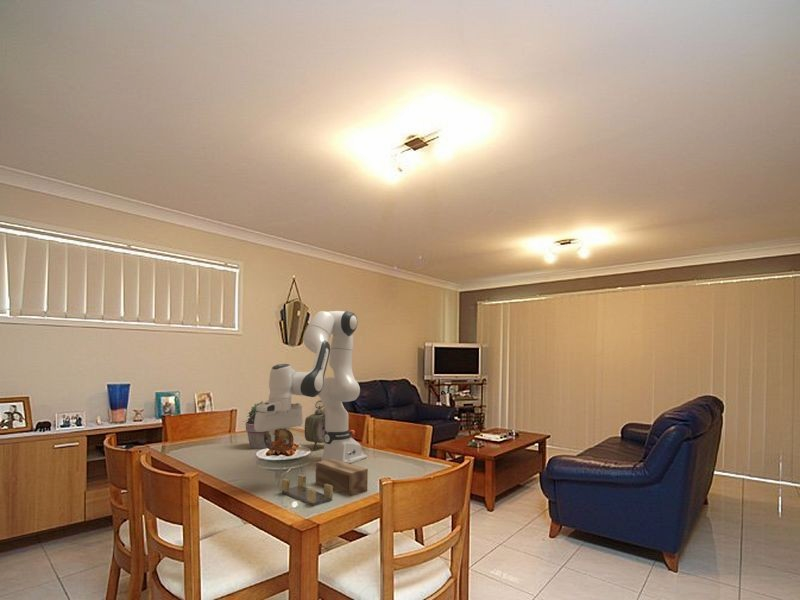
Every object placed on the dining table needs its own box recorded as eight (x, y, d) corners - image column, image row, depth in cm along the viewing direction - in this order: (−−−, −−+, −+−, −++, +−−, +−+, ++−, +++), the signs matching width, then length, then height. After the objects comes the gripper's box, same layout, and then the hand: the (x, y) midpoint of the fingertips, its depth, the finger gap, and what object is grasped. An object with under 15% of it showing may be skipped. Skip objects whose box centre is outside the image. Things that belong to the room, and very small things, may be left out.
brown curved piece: (263, 448, 182) (262, 427, 182) (270, 446, 184) (269, 425, 184) (289, 453, 173) (288, 431, 173) (295, 451, 176) (294, 429, 176)
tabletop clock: (315, 451, 233) (316, 402, 235) (302, 449, 237) (303, 401, 240) (333, 446, 245) (334, 399, 248) (320, 444, 250) (321, 398, 252)
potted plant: (232, 447, 240) (234, 400, 243) (264, 442, 255) (266, 397, 258) (251, 453, 229) (252, 403, 231) (283, 446, 243) (284, 399, 246)
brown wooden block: (331, 478, 185) (331, 458, 186) (367, 490, 170) (367, 468, 171) (314, 483, 179) (315, 462, 180) (350, 495, 164) (350, 473, 165)
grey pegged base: (300, 487, 173) (300, 474, 174) (332, 500, 160) (332, 485, 160) (281, 492, 167) (281, 479, 168) (312, 506, 153) (313, 491, 154)
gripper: (297, 402, 190) (296, 435, 188) (252, 406, 175) (251, 443, 173) (306, 403, 185) (305, 437, 184) (261, 408, 171) (259, 445, 169)
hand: (278, 440), depth 179 cm, fingers closed on brown curved piece, 3 cm apart
